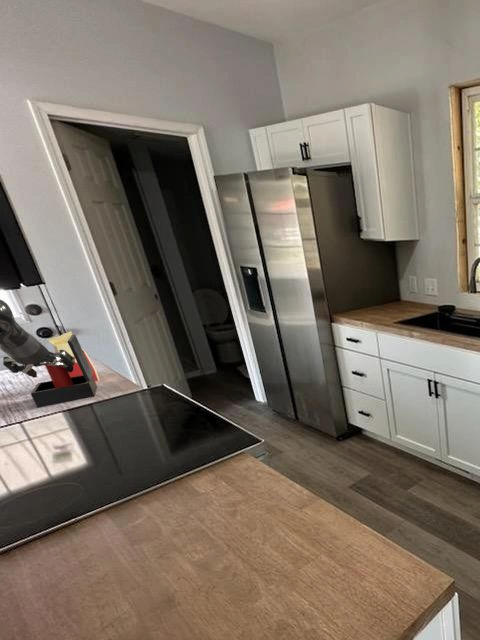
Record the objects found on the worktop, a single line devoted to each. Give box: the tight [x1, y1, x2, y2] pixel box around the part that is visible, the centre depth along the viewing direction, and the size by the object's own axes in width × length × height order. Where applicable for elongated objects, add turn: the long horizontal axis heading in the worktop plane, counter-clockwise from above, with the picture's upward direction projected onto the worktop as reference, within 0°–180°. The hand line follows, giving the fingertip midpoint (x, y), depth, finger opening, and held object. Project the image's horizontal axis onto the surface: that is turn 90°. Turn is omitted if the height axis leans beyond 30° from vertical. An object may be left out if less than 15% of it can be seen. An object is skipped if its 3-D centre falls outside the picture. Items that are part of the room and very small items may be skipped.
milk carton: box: [46, 330, 100, 382], centre depth 154 cm, size 9×9×20 cm
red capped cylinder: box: [45, 360, 74, 388], centre depth 140 cm, size 4×4×13 cm
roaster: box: [30, 375, 98, 409], centre depth 141 cm, size 14×14×6 cm
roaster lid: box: [67, 334, 93, 382], centre depth 142 cm, size 14×14×1 cm
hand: (53, 372), depth 136 cm, fingers open, 8 cm apart
